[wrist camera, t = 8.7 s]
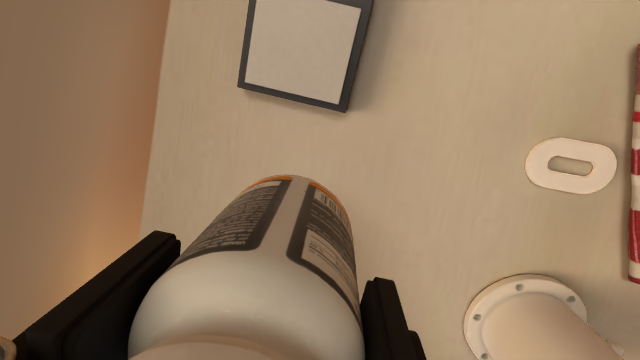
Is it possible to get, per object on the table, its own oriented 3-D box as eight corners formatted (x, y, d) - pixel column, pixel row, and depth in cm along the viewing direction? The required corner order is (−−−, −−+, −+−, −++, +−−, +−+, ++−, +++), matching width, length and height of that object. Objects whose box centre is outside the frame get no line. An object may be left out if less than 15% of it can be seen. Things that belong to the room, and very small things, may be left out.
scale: (373, -4, 26) (377, -15, 23) (345, 111, 29) (345, 113, 26) (261, -31, 26) (252, -45, 23) (243, 87, 29) (234, 86, 26)
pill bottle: (231, 275, 15) (37, 608, 5) (230, 164, 13) (-56, 358, 4) (345, 288, 15) (358, 658, 5) (359, 176, 13) (418, 415, 3)
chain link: (597, 196, 29) (621, 148, 28) (603, 198, 29) (626, 149, 27) (517, 181, 29) (536, 132, 28) (520, 183, 29) (540, 133, 27)
